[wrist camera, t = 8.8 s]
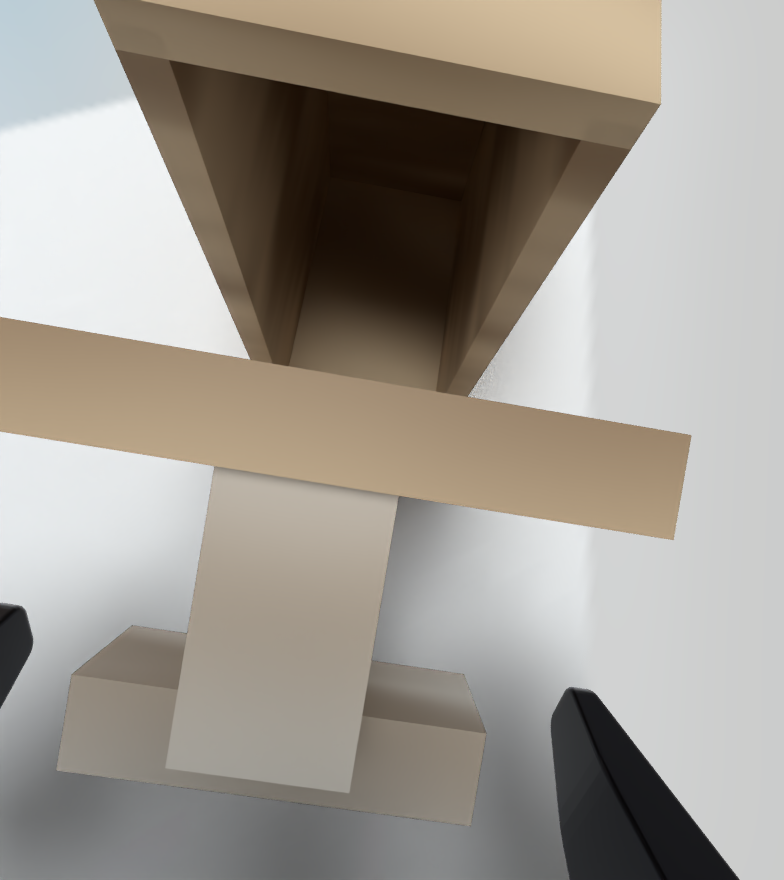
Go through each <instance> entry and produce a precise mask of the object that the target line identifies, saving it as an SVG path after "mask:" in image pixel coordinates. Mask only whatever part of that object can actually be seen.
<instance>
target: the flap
mask: <svg viewBox="0 0 784 880" xmlns="http://www.w3.org/2000/svg"><path fill="white" fill-rule="evenodd" d="M0 431H1V432H7V433H13V434H19V435H26V436H32V437H38V438H44V439H50V440H57V441H63V442H69V443H75V444H81V445H88V446H94V447H100V448H106V449H112V450H119V451H125V452H131V453H137V454H143V455H150V456H156V457H162V458H168V459H174V460H180V461H187V462H193V463H199V464H205V465H211V466H214V472H213V478H212V484H211V491H210V497H209V503H208V509H207V515H206V521H205V527H204V533H203V540H202V546H201V552H200V558H199V564H198V570H197V576H196V582H195V589H194V595H193V601H192V607H191V613H190V619H189V625H188V631H187V633H181V632H174V631H167V630H160V629H153V628H147V627H140V626H133V625H132V626H131V627H130V628H128V629H127V630H126V631H125V632H123V633H122V634H121V635H120V636H118V637H117V638H116V639H115V640H114V641H112V642H111V643H110V644H109V645H107V646H106V647H105V648H104V649H102V650H101V651H100V652H99V653H98V654H96V655H95V656H94V657H93V658H91V659H90V660H89V661H88V662H86V663H85V664H84V665H83V666H81V667H80V668H79V669H78V670H77V671H75V672H74V673H73V674H72V675H71V681H70V687H69V693H68V700H67V706H66V712H65V718H64V724H63V731H62V737H61V743H60V749H59V755H58V762H57V768H56V771H63V772H70V773H78V774H85V775H93V776H100V777H108V778H115V779H123V780H130V781H137V782H145V783H152V784H160V785H167V786H175V787H182V788H190V789H197V790H204V791H212V792H219V793H227V794H234V795H242V796H249V797H257V798H264V799H271V800H279V801H286V802H294V803H301V804H309V805H316V806H324V807H331V808H339V809H346V810H353V811H361V812H368V813H376V814H383V815H391V816H398V817H406V818H413V819H420V820H428V821H435V822H443V823H450V824H458V825H465V826H471V822H472V816H473V810H474V804H475V798H476V792H477V786H478V780H479V774H480V768H481V763H482V757H483V751H484V745H485V739H486V731H485V729H484V726H483V723H482V721H481V718H480V716H479V713H478V710H477V708H476V705H475V703H474V700H473V697H472V695H471V692H470V689H469V687H468V684H467V682H466V679H465V676H464V674H459V673H452V672H446V671H439V670H432V669H425V668H418V667H412V666H405V665H398V664H391V663H384V662H378V661H371V660H372V654H373V648H374V642H375V636H376V630H377V624H378V618H379V612H380V606H381V600H382V594H383V588H384V582H385V576H386V570H387V564H388V558H389V552H390V546H391V540H392V534H393V528H394V522H395V516H396V510H397V504H398V498H399V496H403V497H410V498H416V499H422V500H428V501H434V502H441V503H447V504H453V505H459V506H465V507H472V508H478V509H484V510H490V511H496V512H503V513H509V514H515V515H521V516H527V517H533V518H540V519H546V520H552V521H558V522H564V523H571V524H577V525H583V526H589V527H595V528H602V529H608V530H614V531H621V532H626V533H633V534H639V535H645V536H651V537H658V538H664V539H670V540H674V534H675V528H676V522H677V516H678V511H679V505H680V499H681V493H682V488H683V482H684V476H685V470H686V464H687V458H688V453H689V447H690V441H691V435H687V434H681V433H676V432H670V431H664V430H658V429H652V428H646V427H641V426H634V425H628V424H623V423H617V422H611V421H605V420H600V419H594V418H588V417H582V416H576V415H570V414H564V413H559V412H553V411H547V410H541V409H535V408H529V407H523V406H518V405H512V404H506V403H500V402H494V401H488V400H483V399H477V398H471V397H465V396H459V395H453V394H447V393H442V392H436V391H430V390H424V389H418V388H412V387H406V386H401V385H395V384H389V383H383V382H377V381H371V380H365V379H360V378H354V377H348V376H342V375H336V374H330V373H324V372H319V371H313V370H307V369H301V368H295V367H289V366H284V365H278V364H272V363H266V362H260V361H254V360H248V359H243V358H237V357H231V356H225V355H219V354H213V353H207V352H202V351H196V350H190V349H184V348H178V347H172V346H166V345H161V344H155V343H149V342H143V341H137V340H131V339H126V338H120V337H114V336H108V335H102V334H96V333H90V332H85V331H79V330H73V329H67V328H61V327H55V326H49V325H44V324H38V323H32V322H26V321H20V320H14V319H8V318H3V317H0Z"/></svg>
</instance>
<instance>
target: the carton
mask: <svg viewBox="0 0 784 880" xmlns="http://www.w3.org/2000/svg"><path fill="white" fill-rule="evenodd" d="M94 1H95V4H96V6H97V9H98V11H99V13H100V16H101V18H102V20H103V22H104V25H105V27H106V29H107V32H108V34H109V36H110V38H111V41H112V43H113V45H114V48H115V50H116V52H117V54H118V57H119V59H120V62H121V64H122V66H123V68H124V71H125V73H126V75H127V78H128V80H129V82H130V84H131V86H132V89H133V91H134V94H135V96H136V98H137V101H138V103H139V105H140V107H141V110H142V112H143V114H144V117H145V119H146V121H147V123H148V126H149V128H150V130H151V133H152V135H153V137H154V140H155V142H156V144H157V146H158V149H159V151H160V153H161V156H162V158H163V160H164V162H165V165H166V167H167V169H168V172H169V174H170V176H171V179H172V181H173V183H174V185H175V188H176V190H177V192H178V195H179V197H180V199H181V201H182V204H183V206H184V208H185V211H186V213H187V215H188V218H189V220H190V222H191V224H192V227H193V229H194V231H195V234H196V236H197V238H198V240H199V243H200V245H201V247H202V250H203V252H204V254H205V257H206V259H207V261H208V263H209V266H210V268H211V270H212V273H213V275H214V277H215V279H216V282H217V284H218V286H219V289H220V291H221V293H222V296H223V298H224V300H225V302H226V305H227V307H228V309H229V312H230V314H231V316H232V318H233V321H234V323H235V325H236V328H237V330H238V332H239V335H240V337H241V339H242V341H243V344H244V346H245V348H246V351H247V353H248V355H249V357H250V360H254V361H260V362H266V363H272V364H278V365H284V366H289V367H295V368H301V369H307V370H313V371H319V372H324V373H330V374H336V375H342V376H348V377H354V378H360V379H365V380H371V381H377V382H383V383H389V384H395V385H401V386H406V387H412V388H418V389H424V390H430V391H436V392H442V393H447V394H453V395H459V396H465V397H468V395H469V394H470V392H471V391H472V389H473V388H474V386H475V385H476V383H477V382H478V380H479V379H480V377H481V375H482V374H483V372H484V371H485V369H486V368H487V366H488V365H489V363H490V362H491V360H492V359H493V357H494V356H495V354H496V353H497V351H498V350H499V348H500V347H501V345H502V344H503V342H504V341H505V339H506V338H507V336H508V335H509V333H510V332H511V330H512V329H513V327H514V326H515V324H516V323H517V321H518V320H519V318H520V316H521V315H522V313H523V312H524V310H525V309H526V307H527V306H528V304H529V303H530V301H531V300H532V298H533V297H534V295H535V294H536V292H537V291H538V289H539V288H540V286H541V285H542V283H543V282H544V280H545V279H546V277H547V276H548V274H549V273H550V271H551V270H552V268H553V267H554V265H555V264H556V262H557V261H558V259H559V258H560V256H561V254H562V253H563V251H564V250H565V248H566V247H567V245H568V244H569V242H570V241H571V239H572V238H573V236H574V235H575V233H576V232H577V230H578V229H579V227H580V226H581V224H582V223H583V221H584V220H585V218H586V217H587V215H588V214H589V212H590V211H591V209H592V208H593V206H594V205H595V203H596V202H597V200H598V199H599V197H600V195H601V194H602V192H603V191H604V189H605V188H606V186H607V185H608V183H609V182H610V180H611V179H612V177H613V176H614V174H615V172H616V171H617V170H618V168H619V167H620V165H621V164H622V162H623V161H624V159H625V158H626V156H627V155H628V153H629V152H630V150H631V149H632V147H633V146H634V144H635V143H636V141H637V139H638V138H639V136H640V135H641V133H642V132H643V130H644V129H645V127H646V126H647V124H648V123H649V121H650V120H651V118H652V117H653V115H654V114H655V112H656V111H657V109H658V108H659V106H660V105H661V0H94Z"/></svg>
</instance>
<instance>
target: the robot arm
mask: <svg viewBox="0 0 784 880" xmlns="http://www.w3.org/2000/svg"><path fill="white" fill-rule="evenodd" d="M32 646H33V636H32V632H31V628H30V624H29V621H28V617H27V613H26V610H25V609H24V608H23V607H22V606H19V605H13V604H6V603H0V708H1V706H2V705H3V703H4V701H5V699H6V697H7V695H8V694H9V692H10V690H11V688H12V686H13V684H14V683H15V681H16V679H17V677H18V675H19V673H20V671H21V670H22V668H23V666H24V664H25V662H26V660H27V659H28V657H29V655H30V653H31V650H32ZM551 738H552V748H553V759H554V769H555V780H556V791H557V801H558V812H559V821H560V829H561V835H562V841H563V847H564V852H565V858H566V863H567V868H568V873H569V879H570V880H739V878H738V877H737V876H736V874H735V873H734V872H733V871H732V869H731V868H730V867H729V865H728V864H727V863H726V861H725V860H724V859H723V858H722V856H721V855H720V854H719V853H718V851H717V850H716V849H715V847H714V846H713V845H712V843H711V842H710V841H709V839H708V838H707V837H706V836H705V834H704V833H703V832H702V830H701V829H700V828H699V827H698V825H697V824H696V823H695V821H694V820H693V819H692V818H691V816H690V815H689V814H688V812H687V811H686V810H685V809H684V807H683V806H682V805H681V803H680V802H679V801H678V799H677V798H676V797H675V796H674V794H673V793H672V792H671V790H670V789H669V788H668V786H667V785H666V784H665V783H664V781H663V780H662V779H661V777H660V776H659V775H658V774H657V772H656V771H655V770H654V768H653V767H652V766H651V765H650V763H649V762H648V761H647V759H646V758H645V757H644V755H643V754H642V753H641V752H640V750H639V749H638V748H637V746H636V745H635V744H634V743H633V741H632V740H631V739H630V737H629V736H628V735H627V733H626V732H625V731H624V730H623V728H622V727H621V726H620V724H619V723H618V722H617V721H616V719H615V718H614V717H613V715H612V714H611V713H610V711H609V710H608V709H607V708H606V706H605V705H604V704H603V703H602V701H601V700H600V699H599V697H598V696H597V695H596V694H595V693H594V692H593V691H591V690H588V689H582V688H575V687H569V688H568V689H566V690H565V692H564V694H563V696H562V698H561V699H560V701H559V703H558V705H557V707H556V709H555V711H554V713H553V715H552V719H551Z"/></svg>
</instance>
